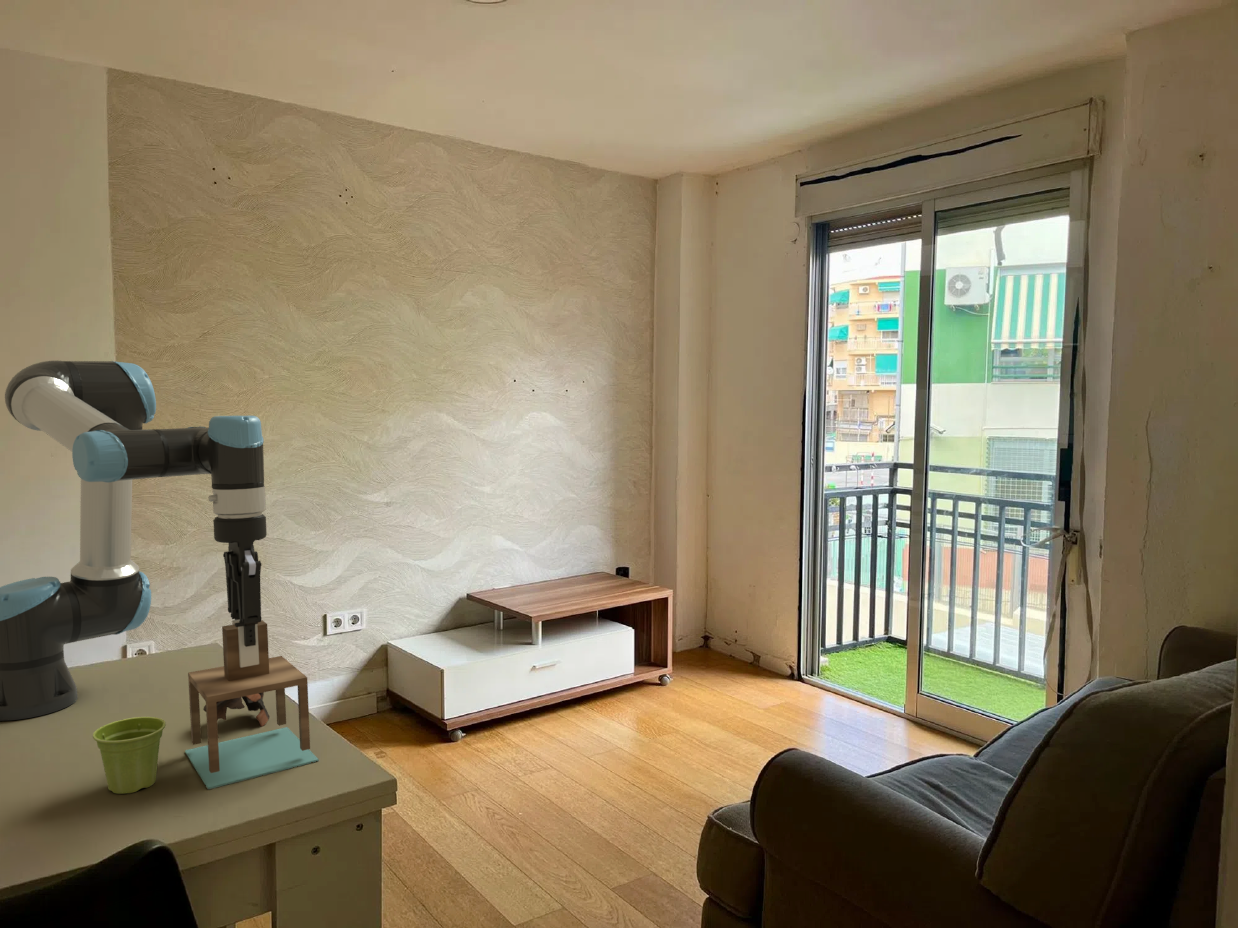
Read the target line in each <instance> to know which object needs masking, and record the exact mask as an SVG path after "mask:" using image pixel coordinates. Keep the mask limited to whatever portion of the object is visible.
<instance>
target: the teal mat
mask: <svg viewBox="0 0 1238 928" xmlns="http://www.w3.org/2000/svg"><path fill="white" fill-rule="evenodd" d="M218 747H219V768H220V771H218V772H214V773H210V771H209V757H208V744H207V745H203V746H198V747H195V748H190V749H185V754H186V756H187V758H188V759H189V761H190V763H191V765H192V766H193V768H194V769H195V771H196V772H197V774H198V776H199V777H200V778H201V779H200V780H202V782H203V784H204V785H206V786H205V788H207V790H211V789H216V788H218V787H223V786H226V785H231V784H235V783H239V782H242V781H246V780H251V779H255V778H258V777H263V776H266V775H270V774H273V773H278V772H282V771H285V770H290V769H293V767H294V768H297V766H298V767H300V766H304V765H309V764H312V763H311V762H313V763H316V761H317V762H319V758H318V757H317V756H316V755H315V754H314V753H313V752H312V751H311V749H308V750H304V751H302V750H301V749H300V738H299V737H297V735H296V734H295V733H294V732H293V731H292V730H291V729H290V728H289V727H288V726H286V727H280V728H278V729H272V730H269V731H264V732H260V733H259V732H258V733H254V734H250V735H247V736H242V737H237V738H233V739H229V740H225V741H221V742H219V741H218ZM262 775H263V776H262Z"/></svg>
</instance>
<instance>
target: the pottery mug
mask: <svg viewBox="0 0 1238 928" xmlns="http://www.w3.org/2000/svg"><path fill="white" fill-rule="evenodd" d="M264 694H265V692H263V693H258V694H253V695H248V696H243V697H238V698H233V699H229V700H224V701H219V702H216V706H217V722H218V720H220V719H221V720H224V721H227V712H228V711H227V710H228V709H230V710H242V709H244V708H245V707H246V708H247V710H248V712H252V711H254V712H257V711H259V713H258V714H257V715H256V716H255V719H256V720H257V721H258V722H259V726H260V727H261V728H262V727H264V726H265V725H266V724H267V723H268V721H269V719H270V715H269V712H268V709H267V708H266V706H265V703H264V701H263V699H264V696H265V695H264ZM243 702H244V703H245V705H246V706H245V705H244V703H243ZM203 711H204V712H205V713H206V704H205V705H204V706H203Z"/></svg>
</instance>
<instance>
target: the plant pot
mask: <svg viewBox="0 0 1238 928" xmlns="http://www.w3.org/2000/svg"><path fill="white" fill-rule="evenodd" d="M166 723H167V722H166V721H165V719H163V718H160V717H156V716H155V717H154V716H137V717H130V718H129V717H128V718H124V719H120V720H115V721H112V722H109V723H107V724H105V725H102V726H101V727H98V728H96V730H94V732H93V733H92V739H93V740H94V741H95V742H96V745H97V748H98V749H99V752H100V755H101V760H102V765H103V768H104V774H105V778H106V784H107V789H108V791H111V792H112V793H114V794H118V795H119V794H120V795H121V794H122V795H123V794H133V793H136V792H138V791H139V790H141V789H144V788H149V787H151V786H152V785H154V783H156V780H157V773H158V772H157V771H158V769H157V768H158V760H159V753H160V752H159V751H160V743H161V738H162V737H163V731H164V730H165V728H166V725H167V724H166Z"/></svg>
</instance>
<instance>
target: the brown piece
mask: <svg viewBox="0 0 1238 928" xmlns="http://www.w3.org/2000/svg"><path fill="white" fill-rule="evenodd" d="M221 627H222V628H221V633H222V651H223V652H222V653H223V666H218V667H212V668H211V667H210V668H206V669H205V668H204V669H200V670H195V671H191V672H188V673H187V677H188V679H187V680H188V695H189V696H188V697H189V698H188V699H189V718H190V734H191V736H190V737H191V744H192V745H193V746H196V745H200V744H202V731H201V730H202V729H201V709H200V696H201V697H202V699H203V700H204V701H205V705H206V712H205V713H206V714H205V716H206V733H207V736H206V737H207V745H208V757H209V771H210V773H214V772H218V771H220V768H219V747H218V743H219V730H218V729H219V728H218V721H217V706H216V702H219V701H224V700H229V699H233V698H238V697H241V698H242V697H243V696H248V695H253V694H258V693H263V692H264V693H268V692H272V691H275V707H276V709H275V710H276V724H277V725H278V726H284V725H287V712H286V711H287V710H286V709H287V708H286V707H287V706H286V690H285V689H287V688H292V687H293V688H294V687H297V704H298V705H297V706H298V708H297V709H298V726H299V727H298V728H299V731H298V732H299V740H300V749H301V750H302V751H304V750H308V749H309V750H311V740H310V739H311V736H310V735H311V734H310V713H309V712H310V711H309V689H308V685H309V684H308V683H309V682H308V676H307V675H305V674H304V673H303V672H301V670H299V669H298V668H297V667H295V665H293V664H292V663H291V662H290V661H288V660H287V659H286V658H285V657H283V656H282V655H280V656H274V657H273V656H272V657H270V655H269V637H268V636H269V634H268V633H269V632H268V631H269V630H268V623H267V622H265V621H264V620H262V619H261V622H258V624H257V627H258V649H259V664H258V665H252V666H247V667H240V662H239V641H238V627H235V624H234V625H232V624H229V625H222V626H221Z"/></svg>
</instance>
